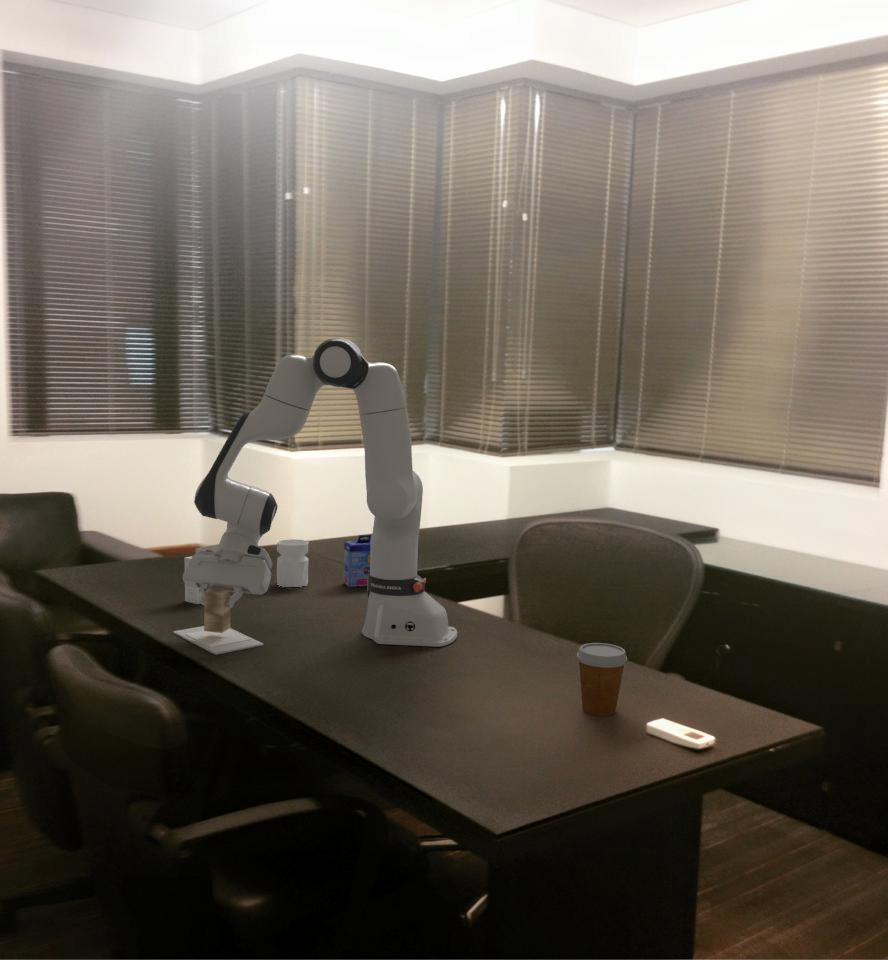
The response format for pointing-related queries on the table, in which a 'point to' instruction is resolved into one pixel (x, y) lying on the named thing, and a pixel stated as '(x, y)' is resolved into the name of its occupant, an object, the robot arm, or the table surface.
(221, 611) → the wooden block
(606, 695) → the disposable coffee cup
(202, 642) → the grey mat
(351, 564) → the ink cartridge box
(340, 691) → the table surface
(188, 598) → the ink cartridge box
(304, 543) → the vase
